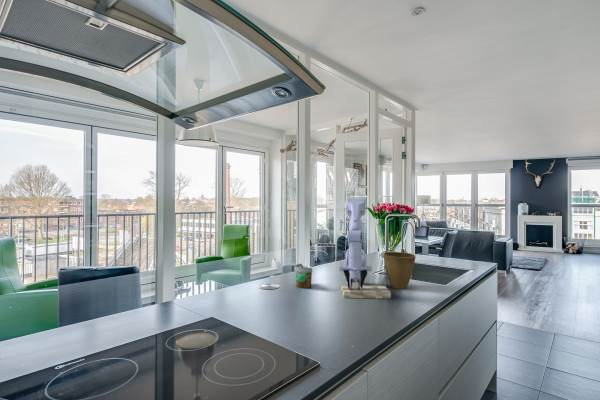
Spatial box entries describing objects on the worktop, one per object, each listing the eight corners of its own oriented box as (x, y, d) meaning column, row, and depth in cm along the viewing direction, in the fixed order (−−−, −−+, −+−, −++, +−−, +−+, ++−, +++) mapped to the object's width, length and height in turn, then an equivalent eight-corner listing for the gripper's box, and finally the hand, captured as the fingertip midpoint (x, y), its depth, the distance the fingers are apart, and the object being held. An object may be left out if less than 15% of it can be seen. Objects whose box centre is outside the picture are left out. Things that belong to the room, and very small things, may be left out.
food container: (290, 284, 159) (290, 264, 159) (301, 283, 161) (301, 263, 161) (300, 290, 148) (300, 269, 148) (312, 289, 150) (312, 268, 150)
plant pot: (379, 288, 152) (380, 255, 152) (387, 281, 165) (387, 251, 165) (412, 293, 144) (412, 258, 144) (417, 285, 157) (417, 253, 157)
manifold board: (341, 290, 148) (341, 285, 148) (384, 291, 147) (384, 285, 147) (344, 297, 137) (344, 292, 137) (390, 298, 136) (390, 292, 136)
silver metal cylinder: (349, 293, 144) (349, 277, 144) (358, 293, 144) (358, 277, 144) (351, 295, 140) (351, 279, 140) (360, 295, 140) (360, 279, 140)
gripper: (339, 258, 138) (339, 289, 138) (373, 258, 138) (373, 289, 138) (338, 255, 145) (338, 285, 145) (370, 255, 145) (369, 285, 145)
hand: (355, 287), depth 142 cm, fingers open, 5 cm apart
